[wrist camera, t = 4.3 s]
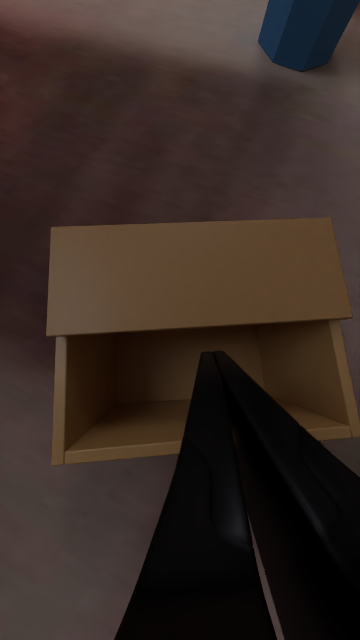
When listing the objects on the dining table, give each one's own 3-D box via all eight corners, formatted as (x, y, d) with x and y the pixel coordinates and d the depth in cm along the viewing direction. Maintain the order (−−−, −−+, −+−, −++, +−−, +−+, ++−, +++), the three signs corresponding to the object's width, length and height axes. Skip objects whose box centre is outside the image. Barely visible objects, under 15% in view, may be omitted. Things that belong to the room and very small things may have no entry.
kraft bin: (111, 291, 18) (59, 235, 10) (253, 284, 19) (320, 226, 10) (112, 410, 17) (50, 466, 8) (268, 397, 17) (363, 437, 9)
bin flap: (55, 231, 9) (50, 226, 9) (325, 222, 10) (331, 217, 10) (51, 337, 9) (45, 336, 8) (345, 319, 9) (353, 317, 9)
